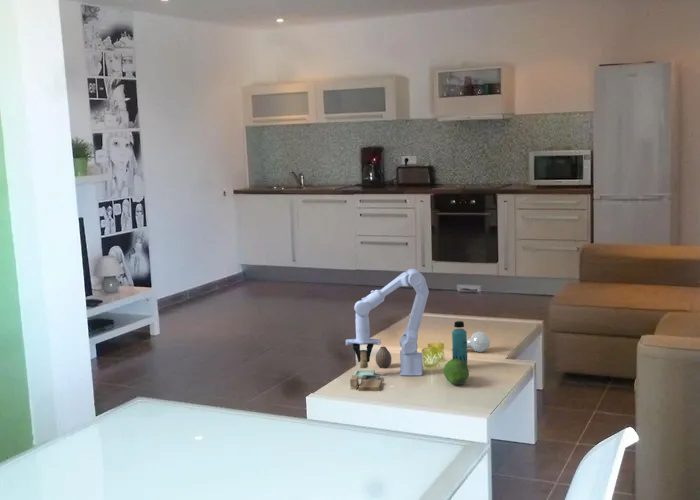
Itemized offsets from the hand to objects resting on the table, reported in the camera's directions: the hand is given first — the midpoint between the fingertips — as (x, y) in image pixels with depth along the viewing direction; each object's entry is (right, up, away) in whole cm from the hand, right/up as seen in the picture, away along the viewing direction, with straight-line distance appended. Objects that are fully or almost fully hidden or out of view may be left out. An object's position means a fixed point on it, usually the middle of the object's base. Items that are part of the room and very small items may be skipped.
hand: (363, 361), depth 339 cm
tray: (0, -6, +1) cm, 6 cm away
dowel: (0, -2, 0) cm, 2 cm away
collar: (+3, -7, -6) cm, 10 cm away
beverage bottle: (+41, -4, +8) cm, 42 cm away
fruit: (+37, -7, -14) cm, 40 cm away
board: (+2, -9, -15) cm, 17 cm away
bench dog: (-4, -8, -14) cm, 16 cm away
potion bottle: (+51, 0, +32) cm, 60 cm away
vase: (+9, -4, +14) cm, 17 cm away
